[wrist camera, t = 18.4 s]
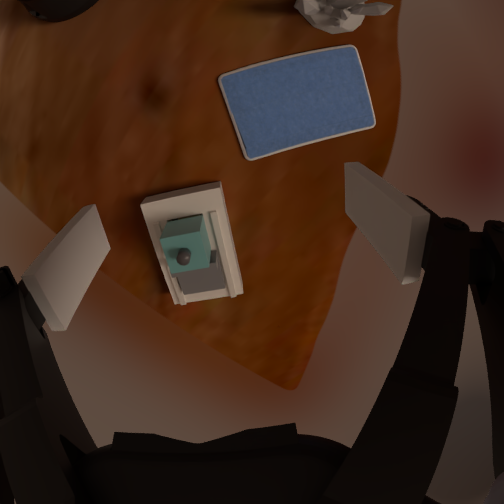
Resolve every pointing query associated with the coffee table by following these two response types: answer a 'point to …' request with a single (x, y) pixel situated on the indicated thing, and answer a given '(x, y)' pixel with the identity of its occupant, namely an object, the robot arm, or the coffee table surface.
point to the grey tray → (218, 228)
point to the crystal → (339, 13)
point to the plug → (186, 244)
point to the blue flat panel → (297, 100)
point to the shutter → (202, 277)
